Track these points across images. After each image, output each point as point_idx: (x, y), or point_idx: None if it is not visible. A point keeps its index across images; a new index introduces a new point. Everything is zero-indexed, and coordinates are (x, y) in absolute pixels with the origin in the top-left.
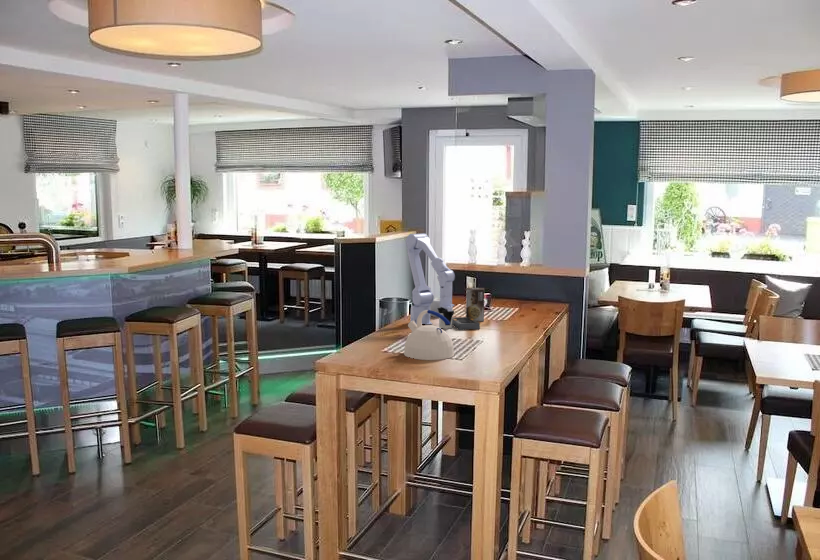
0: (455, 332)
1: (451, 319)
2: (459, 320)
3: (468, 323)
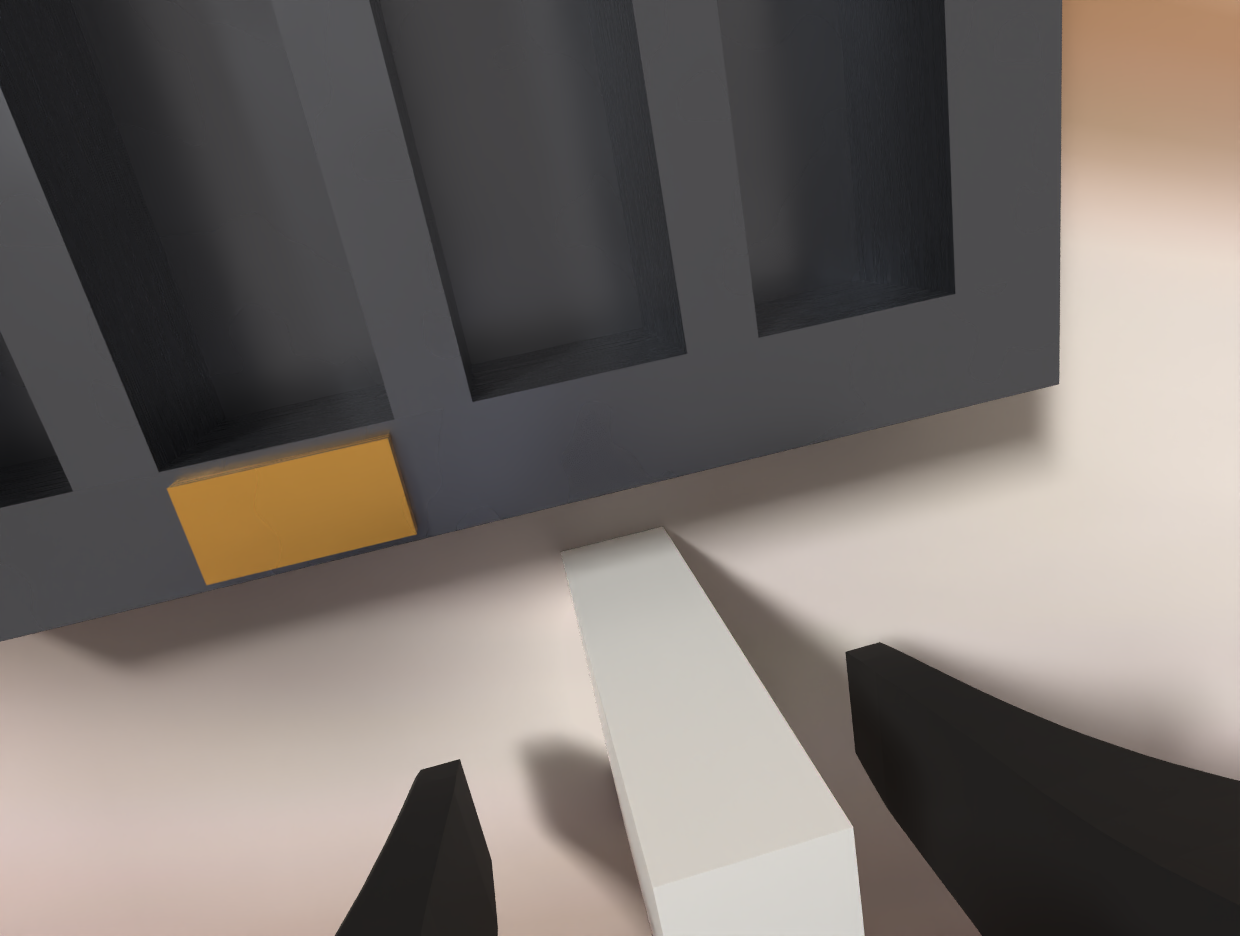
0: (1180, 460)
1: (746, 682)
2: (427, 332)
3: (1056, 9)
